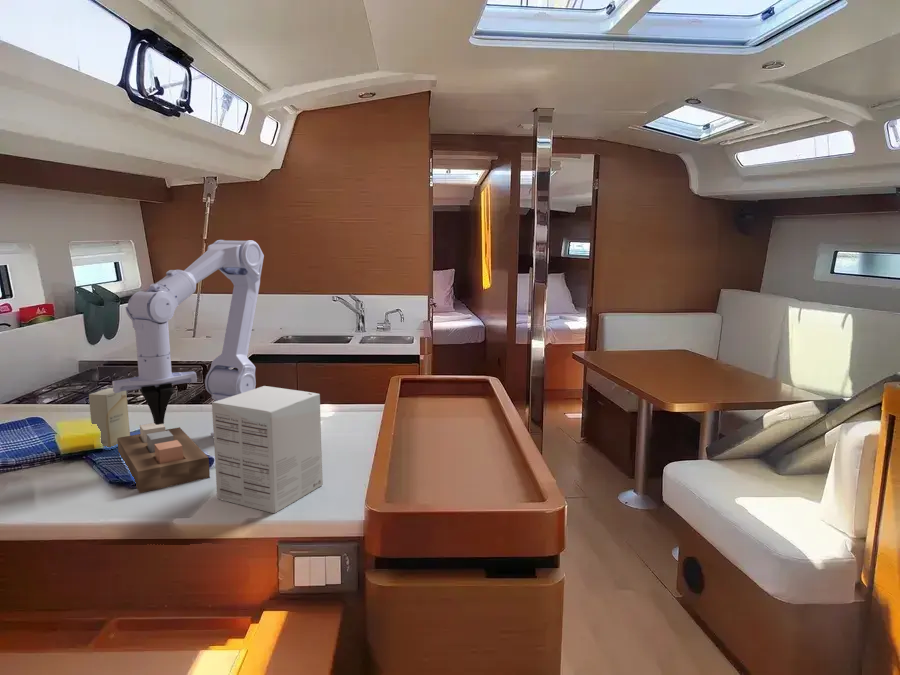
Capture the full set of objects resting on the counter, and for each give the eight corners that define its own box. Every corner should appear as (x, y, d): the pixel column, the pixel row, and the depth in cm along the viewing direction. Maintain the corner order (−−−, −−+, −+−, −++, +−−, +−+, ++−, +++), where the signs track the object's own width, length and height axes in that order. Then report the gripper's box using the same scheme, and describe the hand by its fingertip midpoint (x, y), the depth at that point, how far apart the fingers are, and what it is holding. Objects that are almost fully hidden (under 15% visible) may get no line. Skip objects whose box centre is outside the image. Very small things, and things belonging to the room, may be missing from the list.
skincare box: (110, 451, 128) (105, 395, 126) (92, 450, 129) (87, 394, 127) (131, 441, 134) (127, 388, 132) (114, 440, 135) (109, 386, 133)
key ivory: (162, 437, 128) (160, 421, 127) (166, 443, 125) (165, 426, 124) (141, 441, 126) (139, 425, 125) (144, 446, 122) (143, 430, 122)
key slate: (169, 447, 122) (168, 430, 122) (174, 452, 119) (173, 435, 119) (148, 451, 120) (146, 434, 120) (152, 457, 117) (150, 439, 116)
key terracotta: (178, 457, 117) (177, 439, 116) (183, 463, 114) (182, 445, 113) (155, 461, 115) (154, 444, 114) (160, 468, 111) (159, 450, 111)
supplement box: (268, 473, 118) (264, 384, 115) (324, 485, 112) (321, 392, 109) (215, 499, 106) (209, 401, 103) (274, 514, 100) (270, 411, 97)
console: (180, 445, 132) (179, 427, 132) (209, 477, 115) (208, 457, 114) (118, 456, 125) (117, 437, 125) (139, 493, 108) (137, 471, 107)
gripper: (188, 347, 124) (192, 412, 126) (107, 355, 115) (113, 424, 117) (198, 352, 118) (202, 420, 121) (113, 361, 110) (119, 434, 112)
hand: (158, 423), depth 119 cm, fingers closed
